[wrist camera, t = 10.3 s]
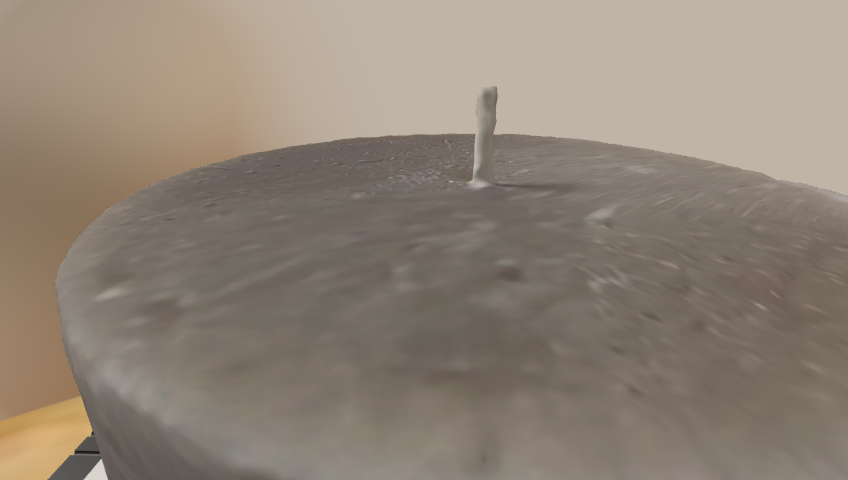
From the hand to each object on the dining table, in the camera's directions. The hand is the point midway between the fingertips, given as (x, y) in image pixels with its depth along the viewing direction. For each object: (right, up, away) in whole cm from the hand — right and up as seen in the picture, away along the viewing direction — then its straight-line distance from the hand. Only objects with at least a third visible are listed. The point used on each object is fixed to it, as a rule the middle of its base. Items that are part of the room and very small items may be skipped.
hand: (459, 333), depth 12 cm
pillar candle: (0, -10, -1) cm, 10 cm away
